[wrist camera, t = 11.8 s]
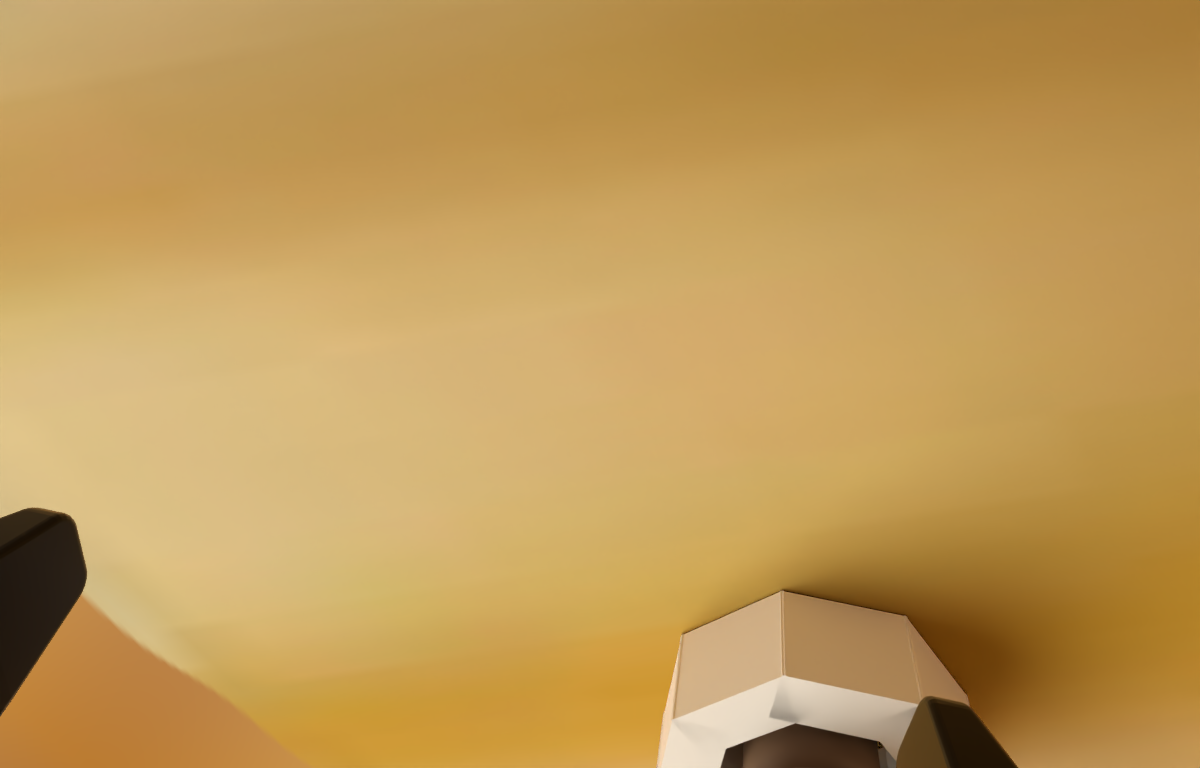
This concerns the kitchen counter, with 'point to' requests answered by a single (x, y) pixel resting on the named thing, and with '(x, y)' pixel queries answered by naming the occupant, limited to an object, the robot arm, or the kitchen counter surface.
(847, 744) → the walnut peg
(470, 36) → the kitchen counter surface
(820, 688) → the socket collar
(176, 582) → the kitchen counter surface
